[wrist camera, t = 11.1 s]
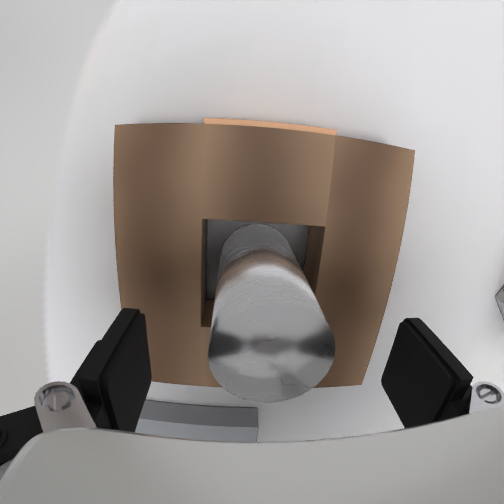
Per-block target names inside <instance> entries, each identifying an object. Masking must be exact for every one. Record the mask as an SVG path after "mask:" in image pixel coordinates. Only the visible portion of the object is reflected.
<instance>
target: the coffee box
mask: <svg viewBox="0 0 504 504" xmlns="http://www.w3.org/2000/svg"><path fill="white" fill-rule="evenodd" d="M496 300H497V303H498V305H499V308H500V311H501V313H502V316H503V319H504V287H503V288H502V289H501V290H500V291H499V293H498V294H497V295H496Z"/></svg>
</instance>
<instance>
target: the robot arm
mask: <svg viewBox="0 0 504 504" xmlns="http://www.w3.org/2000/svg"><path fill="white" fill-rule="evenodd" d="M151 379H152V372H151V365H150V356H149V348H148V339H147V329H146V318H145V314H142V313H140V310H139V309H133V308H123V309H122V310H121V311H120V313H119V314H118V316H117V317H116V319H115V320H114V322H113V323H112V325H111V326H110V328H109V329H108V331H107V332H106V334H105V335H104V337H103V338H102V340H99V341H97V342H96V343H95V345H94V346H93V348H92V349H91V351H90V352H89V354H88V355H87V357H86V359H85V360H84V362H83V363H82V365H81V366H80V368H79V369H78V371H77V373H76V374H75V376H74V377H73V379H72V381H71V382H70V383H67V382H59V381H58V382H51V383H49V384H46V385H44V386H43V387H41V388H40V389H39V390H38V391H37V393H36V395H35V398H34V401H35V406H33V407H30V408H26V409H23V410H20V411H17V412H14V413H10V414H7V415H3V416H0V504H504V393H503V392H502V390H501V389H500V388H499V387H497V386H496V385H494V384H492V383H490V382H478V383H476V384H474V385H473V387H472V386H471V385H470V383H471V381H472V379H473V376H472V375H471V374H470V373H469V371H468V370H467V369H466V368H465V367H464V366H463V365H462V364H461V362H460V361H459V360H458V359H457V358H456V357H455V356H454V355H453V354H452V352H451V351H450V350H449V349H448V348H447V347H446V346H445V345H444V344H443V343H442V341H441V340H440V339H439V338H438V337H437V336H436V335H435V334H434V333H433V332H432V331H431V330H430V329H429V328H428V327H427V325H426V324H425V323H424V322H423V321H422V320H421V319H420V318H406V319H404V321H403V322H401V323H400V324H399V327H398V330H397V334H396V337H395V340H394V343H393V346H392V349H391V352H390V355H389V358H388V361H387V364H386V367H385V370H384V372H383V375H382V379H381V383H382V386H383V388H384V390H385V392H386V394H387V396H388V397H389V399H390V401H391V403H392V405H393V407H394V408H395V410H396V412H397V414H398V416H399V418H400V420H401V422H402V424H403V425H404V427H405V428H404V429H399V430H393V431H387V432H381V433H374V434H367V435H360V436H352V437H343V438H332V439H320V440H305V441H280V442H240V441H216V440H201V439H189V438H178V437H169V436H161V435H152V434H143V433H135V430H136V427H137V424H138V420H139V417H140V414H141V411H142V408H143V405H144V402H145V399H146V396H147V393H148V390H149V387H150V384H151Z"/></svg>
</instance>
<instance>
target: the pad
mask: <svg viewBox="0 0 504 504" xmlns="http://www.w3.org/2000/svg"><path fill="white" fill-rule="evenodd" d="M135 433H143V434H152V435H161V436H169V437H178V438H189V439H201V440H216V441H240V442H256V441H257V434H258V415H257V408H236V407H214V406H199V405H186V404H176V403H166V402H158V401H150V400H145V402H144V405H143V408H142V411H141V414H140V417H139V420H138V424H137V427H136V430H135Z"/></svg>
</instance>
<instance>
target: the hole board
mask: <svg viewBox="0 0 504 504" xmlns="http://www.w3.org/2000/svg"><path fill="white" fill-rule="evenodd" d="M336 134H337V130H334V129H327V128H320V127H312V126H304V125H296V124H287V123H277V122H266V121H253V120H238V119H219V118H204V124H189V123H156V124H124V125H115V136H114V176H113V186H114V226H115V245H116V259H117V271H118V282H119V292H120V301H121V309H123V308H133V309H139V310H140V313H142V314H145V318H146V329H147V339H148V348H149V356H150V365H151V372H152V379H151V381H154V382H162V383H172V384H183V385H195V386H210V387H222V386H221V385H220V384H219V383H218V382H217V381H216V379H215V378H214V376H213V375H212V372H211V370H210V367H209V363H208V350H209V341H210V333H211V325H212V317H213V309H214V301H215V300H206V250H207V219H214V220H233V221H250V222H266V223H282V224H297V225H310V226H309V234H308V242H307V250H306V257H305V265H304V272H303V273H304V275H305V277H306V279H307V281H308V283H309V285H310V287H311V289H312V291H313V294H314V296H315V298H316V300H317V302H318V304H319V306H320V308H321V310H322V312H323V314H324V316H325V319H326V321H327V323H328V325H329V327H330V329H331V331H332V333H333V336H334V340H335V356H334V360H333V363H332V365H331V367H330V369H329V371H328V372H327V374H326V375H325V377H324V378H323V379H322V380H321V381H320V382H319V383H318V384H317V385H316V386H314V387H313V388H318V387H337V386H351V385H361V384H362V381H363V379H364V376H365V373H366V370H367V367H368V364H369V361H370V358H371V355H372V352H373V349H374V346H375V343H376V339H377V336H378V333H379V330H380V326H381V323H382V319H383V316H384V312H385V308H386V305H387V301H388V297H389V293H390V289H391V285H392V281H393V277H394V273H395V268H396V264H397V260H398V255H399V250H400V245H401V240H402V235H403V230H404V224H405V219H406V213H407V207H408V200H409V194H410V187H411V180H412V172H413V163H414V154H415V150H411V149H406V148H402V147H397V146H392V145H387V144H382V143H377V142H372V141H366V140H361V139H355V138H349V137H342V136H336Z"/></svg>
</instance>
